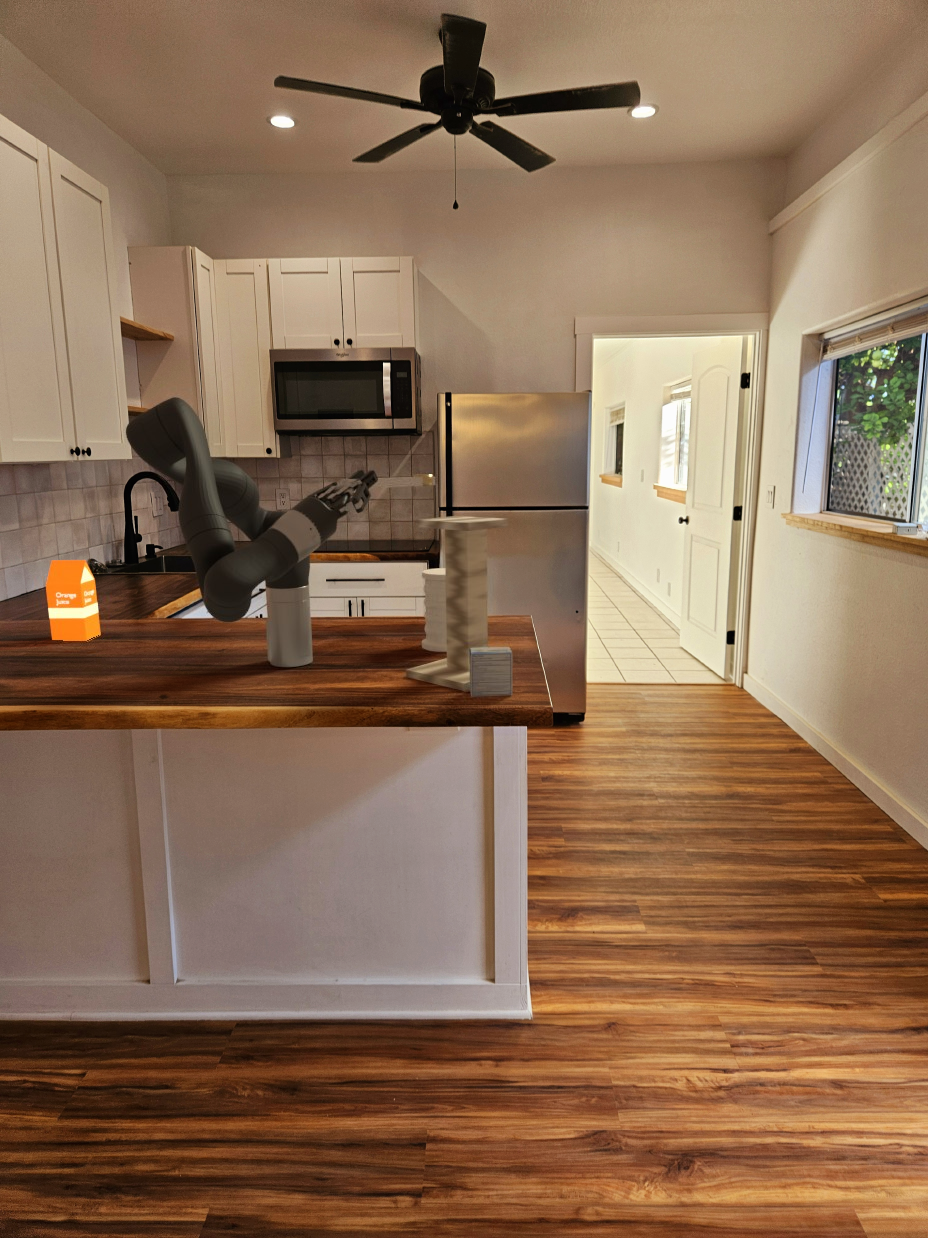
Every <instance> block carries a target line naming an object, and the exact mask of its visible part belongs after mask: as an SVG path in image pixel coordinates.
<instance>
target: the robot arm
mask: <svg viewBox="0 0 928 1238" xmlns="http://www.w3.org/2000/svg"><path fill="white" fill-rule="evenodd" d="M188 403H189V402H186V401H185V400H184V399H182V398H180V397H175V396H173V397H171V398H169V399H166V400H163V401H162V402H159V403H158V404H156V405H154V406H153V407H151V408H149V409H147V410H146V411H144V412H143V413H141V414H139V415H137V416H136V417H134V418H133V419H132V420H130V421H129V422H128V424H127V426H126V427H125V435H126V436H125V437H126V438H127V439H126V440H127V442H128V444H129V445H130V447H131V449H132V450H133V451H134V453H136V455H137V456H138V457H139V458H140V459H141V460H143V462H144V463H146V464H147V465H148V466H149V467H151V468H153V469H154V470H156V471H158V472H159V473H161V474H162V475H164V476H166V478H167V477H168V478H169V479H171V480H172V481H175V482H176V483H178V484H179V485H181V486H182V489H181V493H180V497H179V503H178V523H179V526H180V527H179V528H180V530H181V533H182V536H183V539H184V542H185V544H186V545H185V546H186V548H187V550H188V553H189V555H190V557H191V560H192V562H193V565H194V569H195V573H196V574H195V575H196V580H197V583H198V588H199V592H200V595H201V599H202V601H203V604H204V607H205V608H206V610H207V612H208V613H209V614H210V616H212V617H213V618H214V619H215V620H217V621H220V622H223V623H234V622H235V623H236V622H238V621H239V620H242V618H244V617H245V616H246V615H247V613H248V612H249V609H250V607H251V605H252V598H253V597H252V596H253V592H254V590H255V589H256V588H257V587H258V586H259V585H260V584H262V583H263V582H265V597H266V598H265V600H266V610H267V611H266V614H267V619H265V628H266V629H265V631H266V646H267V661H268V662H270V665H272V667H273V666H274V667H279V668H293V667H296V668H297V667H300V666H301V667H302V666H305V665H308V664H311V663H313V661H314V660H313V659H314V658H313V656H314V655H313V639H312V617H311V599H310V598H311V597H310V582H309V581H310V580H309V579H310V571H311V559H310V558H311V554H312V553H314V551H316V550H317V549H318V548H319V547H320V546H322V545H323V544H324V543H325V542H326V541H328V540H329V538H331V537H332V536H333V535H334V534H335V533H336V531H337V528H338V521H339V519H341V518H343V517H344V516H346V515H347V514H348V513H349V511H353V510H355V512H356V513H357V514H361V513H362V512H363V511H364V510H365V508H366V506H367V505H368V502H369V501H370V498H371V496H372V495H371V492H370V490H369V489H371V488H370V487H371V486H372V485H374V484H375V483H376V482H377V481H378V478H379V477H378V476H377V473H376V471H375V470H368V471H367V472H366V473H365V472H364V470H362V469H358V470H357V471H356V472H354V473H353V474H352V475H350V477H348V478H347V479H359V480H358V481H356V482H355V483H353V484H352V485H351V486H345V487H343V488H342V489H340V482H339V483H338V482H337V481H334V482H332V483H330V484H327V485H326V486H324V487H322V488H321V489H318V490H317V491H314V492H313V493H311V494H309V495H307V496H306V497H304V498H303V499H301V500H300V501H299V502H298V503H296V504H295V505H294V506H293V507H292V508H290V509H289V510H268V509H265V508H264V507H262V506H261V505H260V497H261V496H260V491H259V486H258V485H257V483H256V482H255V480H254V479H252V477H251V476H250V475H249V474H248V473H246V472H245V470H243V468H241V467H240V466H238V465H237V464H236V463H234V462H231V461H229V460H226V459H221V458H217V457H212V456H211V452H210V447H209V446H210V445H209V442H208V438H207V435H206V431H205V428H204V426H203V423H202V422H201V419H200V418H199V416H198V415H197V413H196V411H195V410H194V409H193V408H192V407H191V405H190V404H188ZM356 488H357V489H356ZM227 520H228V521H229V522H230V523H231V524H232V525H234V526H235V527H236V528H237V529H239V530H240V531H241V532H242V533H243V534H244V535H245V536H246V537H247V538H248V540H250V542H251V543H249V544H248V545H245V546H243V547H241V548H238V549H236V543H235V539H234V537H233V534H232V532H231V529H230V527H229V526H230V525H229V522H228V521H227Z"/></svg>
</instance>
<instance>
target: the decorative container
mask: <svg viewBox="0 0 928 1238" xmlns="http://www.w3.org/2000/svg"><path fill="white" fill-rule="evenodd" d="M421 578H422V579H424V585H423V592H424V594H425V596H424V597H425V598H424V600H423V605H424V606H425V611H424V615H423V616H424V619H425V625H424V632H425V635H426V636H425V638H423V639H422V640H421V648H422V649H424V650H426V651H429V652H437V653H447V634H446V572H445V567H440V568H437V567H436V568H428V569H425V570H421Z"/></svg>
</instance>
